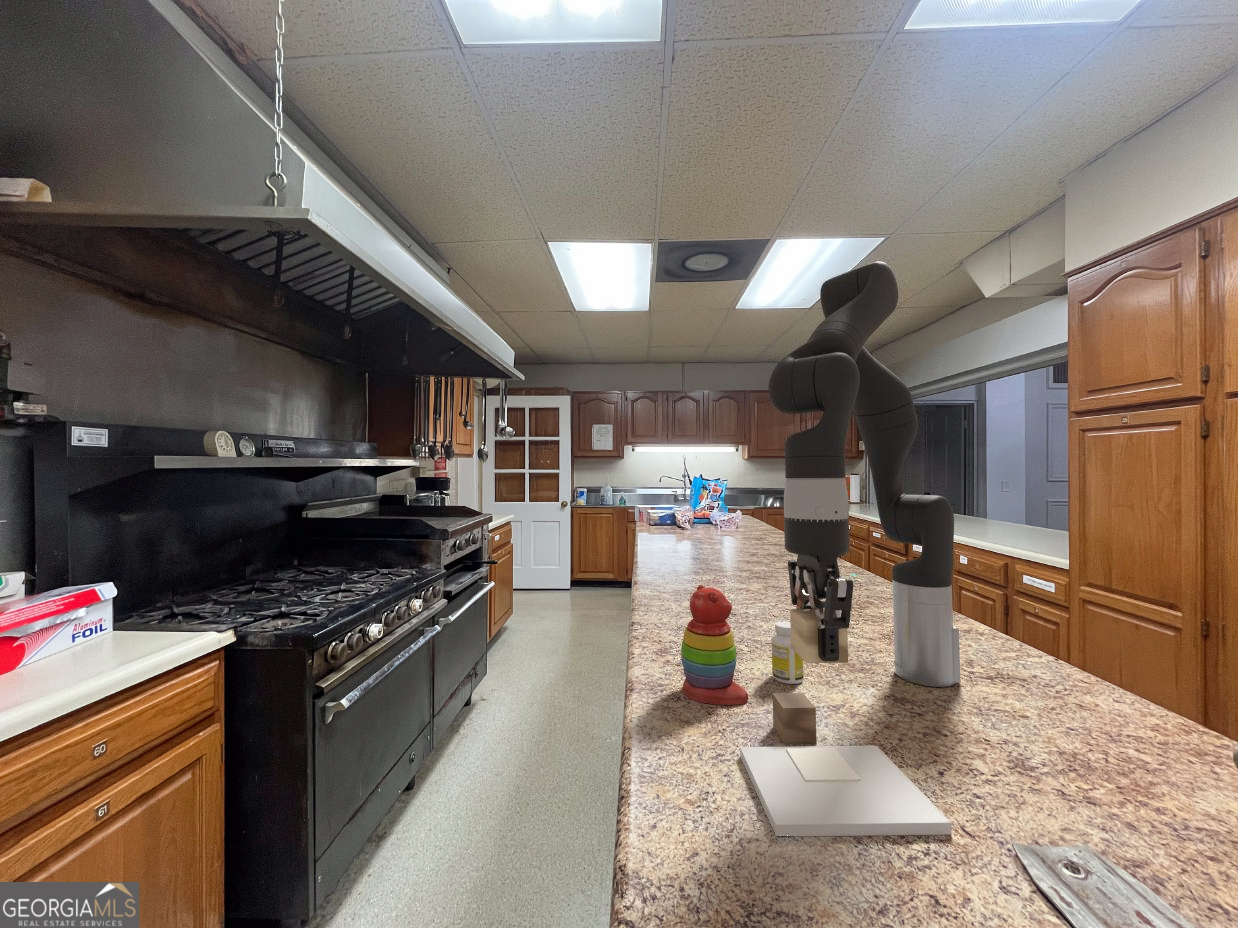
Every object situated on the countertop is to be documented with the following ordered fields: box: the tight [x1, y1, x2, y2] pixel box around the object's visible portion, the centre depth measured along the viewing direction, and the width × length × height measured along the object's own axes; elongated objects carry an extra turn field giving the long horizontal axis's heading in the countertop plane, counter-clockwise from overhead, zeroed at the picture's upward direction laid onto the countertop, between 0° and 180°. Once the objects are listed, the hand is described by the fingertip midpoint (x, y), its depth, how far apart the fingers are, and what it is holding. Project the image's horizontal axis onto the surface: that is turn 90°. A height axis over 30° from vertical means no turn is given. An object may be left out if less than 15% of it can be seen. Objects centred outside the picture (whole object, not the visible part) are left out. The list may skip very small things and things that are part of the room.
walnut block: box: [771, 692, 817, 745], centre depth 67 cm, size 4×4×5 cm
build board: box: [739, 745, 953, 837], centre depth 55 cm, size 18×14×1 cm
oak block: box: [789, 608, 849, 664], centre depth 59 cm, size 5×5×5 cm
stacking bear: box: [680, 584, 749, 706], centre depth 81 cm, size 11×10×18 cm
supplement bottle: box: [771, 621, 805, 685], centre depth 86 cm, size 5×5×10 cm
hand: (818, 650), depth 59 cm, fingers closed on oak block, 5 cm apart
